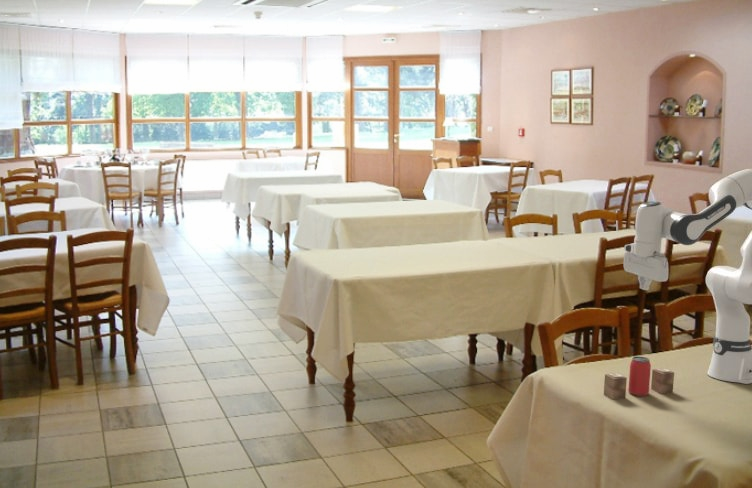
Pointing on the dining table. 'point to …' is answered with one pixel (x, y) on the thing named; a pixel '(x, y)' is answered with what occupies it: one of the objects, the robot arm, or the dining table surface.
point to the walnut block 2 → (662, 380)
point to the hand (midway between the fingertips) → (644, 289)
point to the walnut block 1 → (615, 386)
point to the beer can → (639, 376)
